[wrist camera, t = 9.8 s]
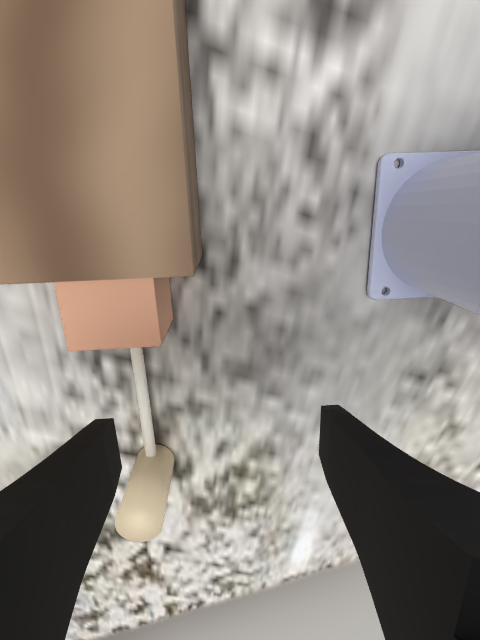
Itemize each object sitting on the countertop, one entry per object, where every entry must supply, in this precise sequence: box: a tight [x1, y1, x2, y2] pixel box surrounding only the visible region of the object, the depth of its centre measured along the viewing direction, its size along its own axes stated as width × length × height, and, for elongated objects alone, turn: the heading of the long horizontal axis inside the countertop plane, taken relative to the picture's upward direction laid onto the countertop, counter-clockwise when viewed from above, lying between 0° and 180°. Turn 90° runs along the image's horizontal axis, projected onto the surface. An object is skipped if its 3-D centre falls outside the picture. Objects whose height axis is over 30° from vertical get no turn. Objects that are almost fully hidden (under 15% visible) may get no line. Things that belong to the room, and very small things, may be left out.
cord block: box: [54, 277, 174, 542], centre depth 19 cm, size 4×16×5 cm, turn 2°
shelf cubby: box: [0, 0, 202, 284], centre depth 14 cm, size 8×12×6 cm
